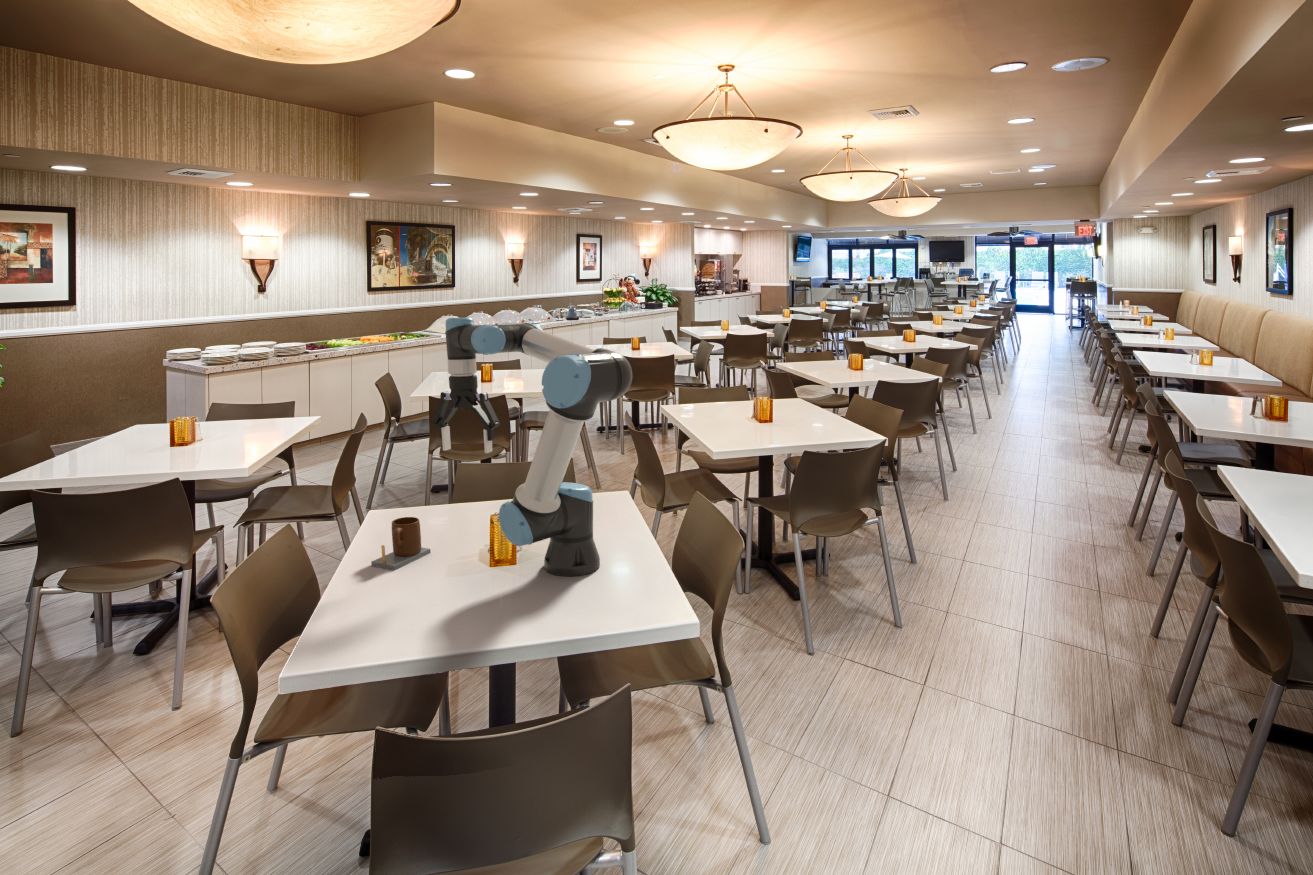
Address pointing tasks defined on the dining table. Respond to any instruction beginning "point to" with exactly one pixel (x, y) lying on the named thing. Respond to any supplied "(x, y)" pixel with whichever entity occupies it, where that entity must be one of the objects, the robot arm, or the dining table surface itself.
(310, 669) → the dining table surface
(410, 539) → the mug
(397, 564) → the grey pegged flat base
